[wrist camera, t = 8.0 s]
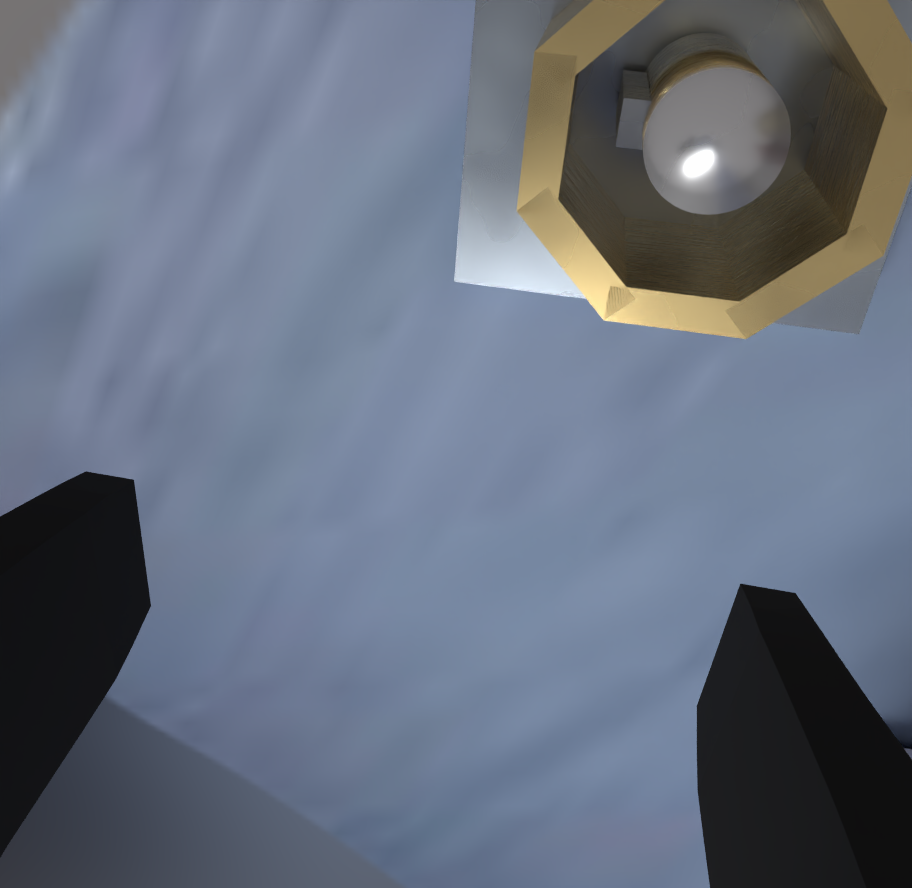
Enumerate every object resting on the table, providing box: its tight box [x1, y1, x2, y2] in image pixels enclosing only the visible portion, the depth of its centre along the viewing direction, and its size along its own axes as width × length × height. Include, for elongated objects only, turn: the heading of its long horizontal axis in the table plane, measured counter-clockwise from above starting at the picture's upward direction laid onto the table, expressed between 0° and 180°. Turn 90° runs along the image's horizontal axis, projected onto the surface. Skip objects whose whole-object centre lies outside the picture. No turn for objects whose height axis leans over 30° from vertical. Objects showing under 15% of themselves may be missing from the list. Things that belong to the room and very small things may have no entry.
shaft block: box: [454, 0, 912, 334], centre depth 14 cm, size 8×8×4 cm
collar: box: [517, 0, 912, 339], centre depth 14 cm, size 5×5×4 cm
